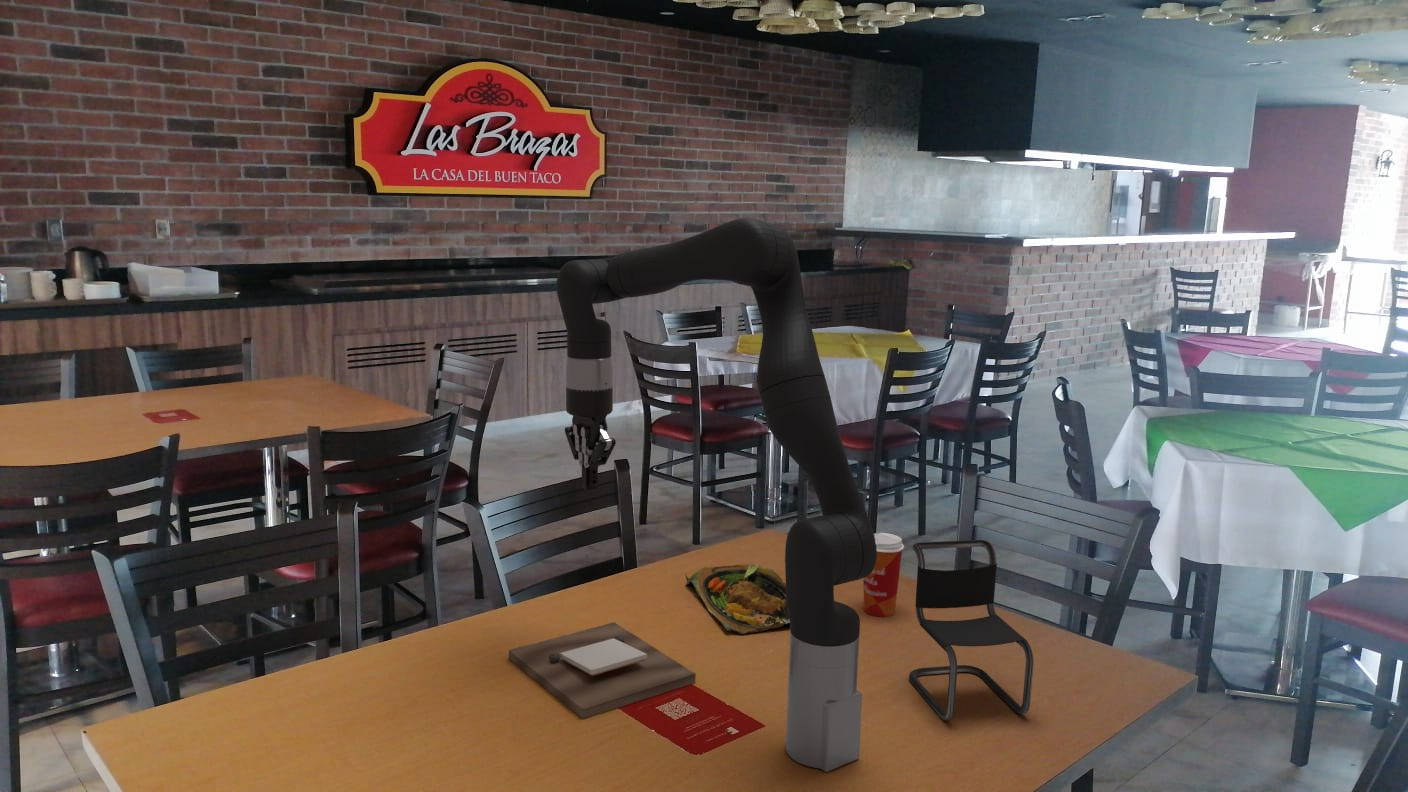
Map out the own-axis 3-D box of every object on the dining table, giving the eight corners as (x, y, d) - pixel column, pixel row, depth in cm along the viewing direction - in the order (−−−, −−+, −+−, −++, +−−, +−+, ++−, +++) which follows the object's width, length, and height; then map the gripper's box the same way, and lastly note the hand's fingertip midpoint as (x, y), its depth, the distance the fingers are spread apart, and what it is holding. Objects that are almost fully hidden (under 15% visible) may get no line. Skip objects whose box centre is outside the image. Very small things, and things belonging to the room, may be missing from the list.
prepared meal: (824, 608, 179) (729, 617, 174) (824, 627, 180) (728, 637, 174) (766, 561, 205) (681, 568, 200) (765, 578, 206) (681, 585, 200)
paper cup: (850, 606, 189) (853, 534, 186) (884, 600, 192) (888, 529, 189) (874, 622, 182) (877, 547, 179) (909, 615, 185) (913, 542, 182)
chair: (977, 668, 164) (986, 538, 160) (1030, 721, 147) (1042, 577, 143) (901, 673, 162) (909, 542, 158) (947, 728, 145) (956, 582, 141)
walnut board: (695, 682, 157) (695, 665, 157) (582, 719, 145) (582, 700, 145) (614, 630, 176) (614, 614, 176) (508, 658, 164) (508, 641, 164)
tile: (613, 638, 166) (613, 644, 166) (559, 653, 160) (560, 659, 161) (647, 654, 158) (647, 660, 158) (591, 670, 152) (591, 676, 153)
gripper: (631, 388, 160) (630, 494, 163) (588, 376, 170) (589, 476, 173) (589, 392, 155) (590, 501, 159) (549, 380, 166) (550, 482, 169)
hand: (589, 488), depth 166 cm, fingers closed
